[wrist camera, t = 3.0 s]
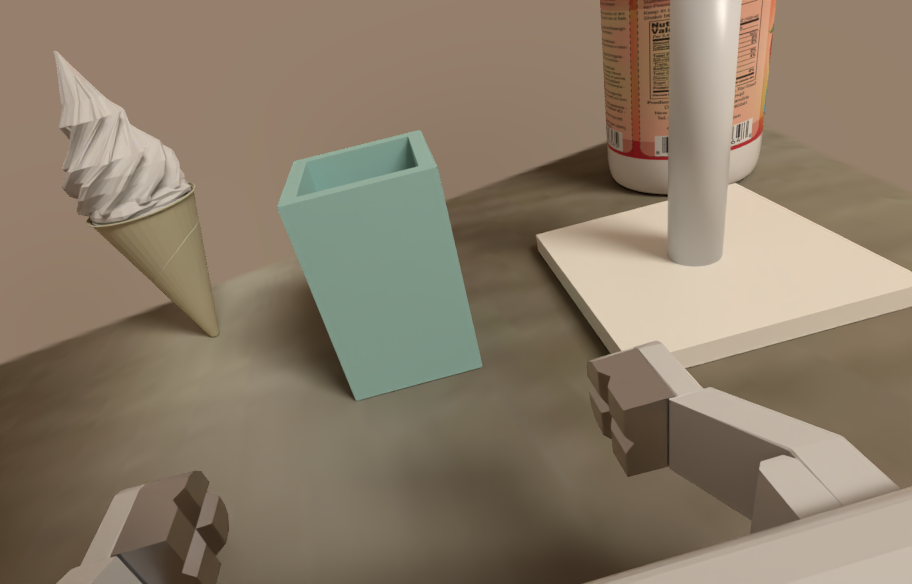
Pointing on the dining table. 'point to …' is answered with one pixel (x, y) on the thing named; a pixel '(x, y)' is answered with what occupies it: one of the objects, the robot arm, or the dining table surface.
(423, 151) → the sleeve
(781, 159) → the dining table surface
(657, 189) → the fruit juice
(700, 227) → the post stand
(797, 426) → the robot arm
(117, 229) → the ice cream cone
